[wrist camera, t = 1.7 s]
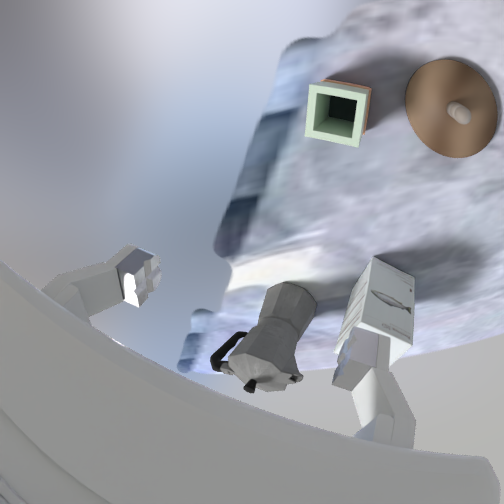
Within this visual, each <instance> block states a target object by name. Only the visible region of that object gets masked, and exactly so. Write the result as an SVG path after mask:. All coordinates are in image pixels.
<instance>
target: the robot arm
mask: <svg viewBox="0 0 504 504" xmlns="http://www.w3.org/2000/svg"><path fill="white" fill-rule="evenodd" d="M159 264H160V257H159V256H158V255H156V254H154V253H152V252H150V251H147V250H145V249H143V248H141V247H138V246H135V245H133V244H127V245H126V246H125V247H124V248H122V249H121V250H120V251H119V252H118V253H117V254H115V255H114V256H113V257H112V258H111V259H110V260H109V261H107V262H106V263H104V262H102V263H98V264H94V265H91V266H87V267H84V268H80V269H77V270H73V271H70V272H66V273H63V274H60V275H58V276H57V277H55V278H54V279H53V280H52V281H51V282H50V283H48V284H47V285H46V286H45V287H44V288H43V289H42V290H41V291H40V290H39V289H38V288H36V287H35V286H34V285H32V284H31V283H30V282H28V281H27V280H26V279H24V278H23V277H22V276H21V275H19V274H18V273H17V272H16V271H15V270H13V269H12V268H11V267H10V266H9V265H7V264H6V263H5V262H4V261H2V260H1V259H0V504H499V501H500V483H499V481H498V478H497V476H496V474H495V472H494V470H493V467H492V466H491V464H490V462H489V461H488V459H487V458H485V457H481V456H468V455H455V454H445V453H436V452H429V451H421V450H414V449H413V445H414V435H415V426H416V420H415V417H414V415H413V413H412V411H411V409H410V408H409V405H408V403H407V401H406V399H405V397H404V395H403V393H402V391H401V389H400V387H399V385H398V383H397V381H396V380H395V377H394V375H393V374H392V372H389V361H390V345H391V339H390V337H388V336H385V335H382V334H377V333H375V332H372V331H369V330H365V329H362V328H359V327H356V326H354V327H353V328H352V329H351V331H350V334H349V338H348V339H346V340H345V341H344V343H343V345H342V347H341V350H340V352H339V356H338V360H337V362H338V367H337V368H336V370H335V373H334V377H333V381H332V385H334V386H337V387H340V388H343V389H346V390H349V391H352V392H351V394H352V397H353V400H354V403H355V406H356V410H357V412H358V416H359V419H360V422H361V426H362V429H361V430H360V431H358V432H357V433H356V434H354V435H353V436H352V437H350V436H346V435H342V434H338V433H334V432H330V431H327V430H324V429H320V428H317V427H313V426H310V425H306V424H303V423H300V422H297V421H294V420H291V419H288V418H285V417H282V416H279V415H276V414H273V413H270V412H268V411H265V410H262V409H259V408H257V407H254V406H251V405H249V404H246V403H244V402H241V401H239V400H236V399H234V398H231V397H229V396H226V395H224V394H221V393H219V392H217V391H215V390H212V389H210V388H208V387H205V386H203V385H201V384H199V383H197V382H194V381H192V380H190V379H188V378H186V377H184V376H182V375H180V374H177V373H175V372H173V371H171V370H169V369H167V368H165V367H163V366H161V365H159V364H157V363H156V362H154V361H152V360H150V359H148V358H146V357H144V356H142V355H140V354H139V353H137V352H135V351H133V350H132V349H130V348H128V347H126V346H124V345H123V344H120V343H119V342H118V341H116V340H114V339H112V338H110V337H109V336H107V335H106V334H104V333H102V332H101V331H99V330H98V329H96V328H94V327H93V326H92V325H91V322H90V320H89V317H90V316H92V315H94V314H97V313H99V312H101V311H103V310H105V309H108V308H110V307H112V306H114V305H116V304H119V303H121V302H123V301H126V302H128V303H131V304H133V305H135V306H137V307H140V306H141V305H142V304H143V303H144V302H145V301H146V299H147V298H148V293H149V292H153V291H154V290H155V289H156V288H157V287H158V285H159V283H160V280H161V270H160V268H159V267H158V265H159Z"/></svg>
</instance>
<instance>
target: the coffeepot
mask: <svg viewBox="0 0 504 504" xmlns="http://www.w3.org/2000/svg"><path fill="white" fill-rule="evenodd" d="M316 306H317V304H316V302H315V301H314V299H313V297H312V296H311V295H310V294H309V293H308V292H307V291H306V290H305V289H303V288H301V287H299V286H297V285H294V284H290V283H280V284H277V285H275V286H273V287H271V288H269V289H267V293H266V296H265V299H264V302H263V306H262V309H261V312H260V315H259V320H258V324H257V326H255V327H253V328H252V329H251V330H250V331H249V332H248V333H247V332H241V331H239V332H236V333H235V334H234V335H233V336H232V337H231V338H230V339H229V340H228V341H227V342H226V343H224V344H223V345H222V346H221V347H220V348H219V349H218V350H217V351H216V352H215V353H214V354H213V355H212V356H211V357H210V362H211V365H212V369H213V370H214V371H217V372H223V373H224V374H229V375H233V374H234V375H236V376H237V377H238V378H239V379H240V380H241V381H242V382H243V383H245V384H246V385H245V386H244V390H245V391H247V392H249V393H254V391H255V388H258V389H261V390H263V391H266V392H271V391H282V390H285V389H286V386H287V384H293V383H296V382H300V381H301V380H302V379H303V375H302V374H300V373H299V370H298V368H297V364H296V360H295V356H294V353H295V349H296V344H297V342H298V341H299V339H300V338H301V336H302V335H303V333H304V332H305V330H306V329H307V327H308V326H309V324H310V322H311V321H312V319H313V317H314V313H315V310H316ZM242 337H244V338H243V340H242V341H241V342H240V343H239V345H238V346H237V347H236V348H235V349H234V350H233V352H232V353H231V354H230V355H229V356H228V361H221V359H222V358H224V356H225V355H226V354H227V352H228V351H229V350H230V349H231V348H233V347H234V346H235V345H236V343H237V341H238V340H239V339H240V338H242Z"/></svg>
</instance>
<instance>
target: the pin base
mask: <svg viewBox="0 0 504 504" xmlns="http://www.w3.org/2000/svg"><path fill="white" fill-rule="evenodd" d="M405 106H406V112H407V116H408V119H409V121H410V124H411V126H412V128H413V130H414V132H415V133H416V134H417V136H418V137H419V138H420V140H421V141H422V142H423V143H424V144H425V145H426V146H428V147H429V148H430V149H432V150H433V151H435V152H437V153H439V154H441V155H443V156H447V157H452V158H464V157H469V156H472V155H474V154H476V153H478V152H480V151H481V150H482V149H483V148H485V147H486V146H487V144H488V143H489V142H490V140H491V139H492V137H493V135H494V133H495V129H496V125H497V115H498V114H497V106H496V101H495V98H494V95H493V93H492V91H491V89H490V87H489V85H488V84H487V82H486V81H485V80H484V79H483V77H482V76H481V75H480V74H479V73H478V72H476V71H475V70H474V69H472V68H471V67H469V66H468V65H466V64H463V63H461V62H458V61H454V60H436V61H432V62H429V63H427V64H425V65H423V66H422V67H420V68H419V69H418V70H417V71H416V72H415V73H414V74H413V76H412V77H411V79H410V81H409V83H408V86H407V90H406V95H405Z"/></svg>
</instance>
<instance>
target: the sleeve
mask: <svg viewBox="0 0 504 504" xmlns="http://www.w3.org/2000/svg"><path fill="white" fill-rule="evenodd" d="M371 90H372V88H370V87H367V86H362V85H358V84H353V83H347V82H342V81H336V80H330V79H323V80H321V82H317V83H313V84H310V85H309V96H308V108H307V119H306V129H305V136H307V137H312V138H317V139H322V140H327V141H332V142H336V143H341V144H345V145H350V146H354V147H359V144H360V141H361V138H362V135H363V134H364V135H365V131H366V125H367V119H368V112H369V105H370V98H371ZM330 95H333V96H338V97H343V98H348V99H353V100H357V106H356V114H355V121H354V122H352V121H347V120H343V119H338V118H333V117H328V114H329V105H330Z"/></svg>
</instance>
